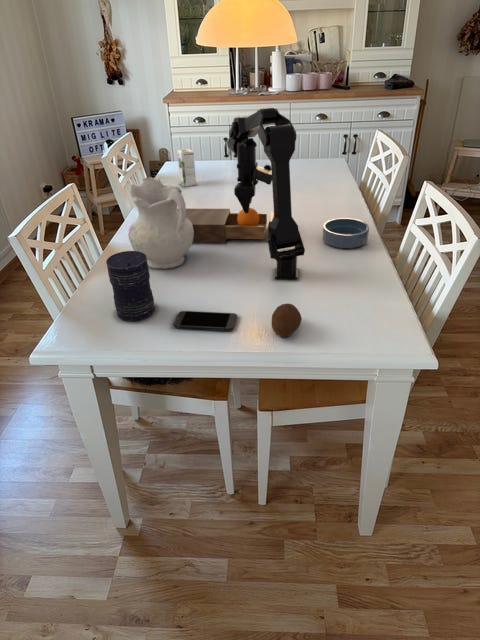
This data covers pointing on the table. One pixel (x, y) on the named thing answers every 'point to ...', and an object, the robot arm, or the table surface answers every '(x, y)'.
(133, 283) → the storage jar
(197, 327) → the smartphone
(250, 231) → the drawer
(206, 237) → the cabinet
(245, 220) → the orange
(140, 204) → the ceramic pitcher
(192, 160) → the syrup box
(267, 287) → the table surface
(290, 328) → the potato
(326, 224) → the bowl
